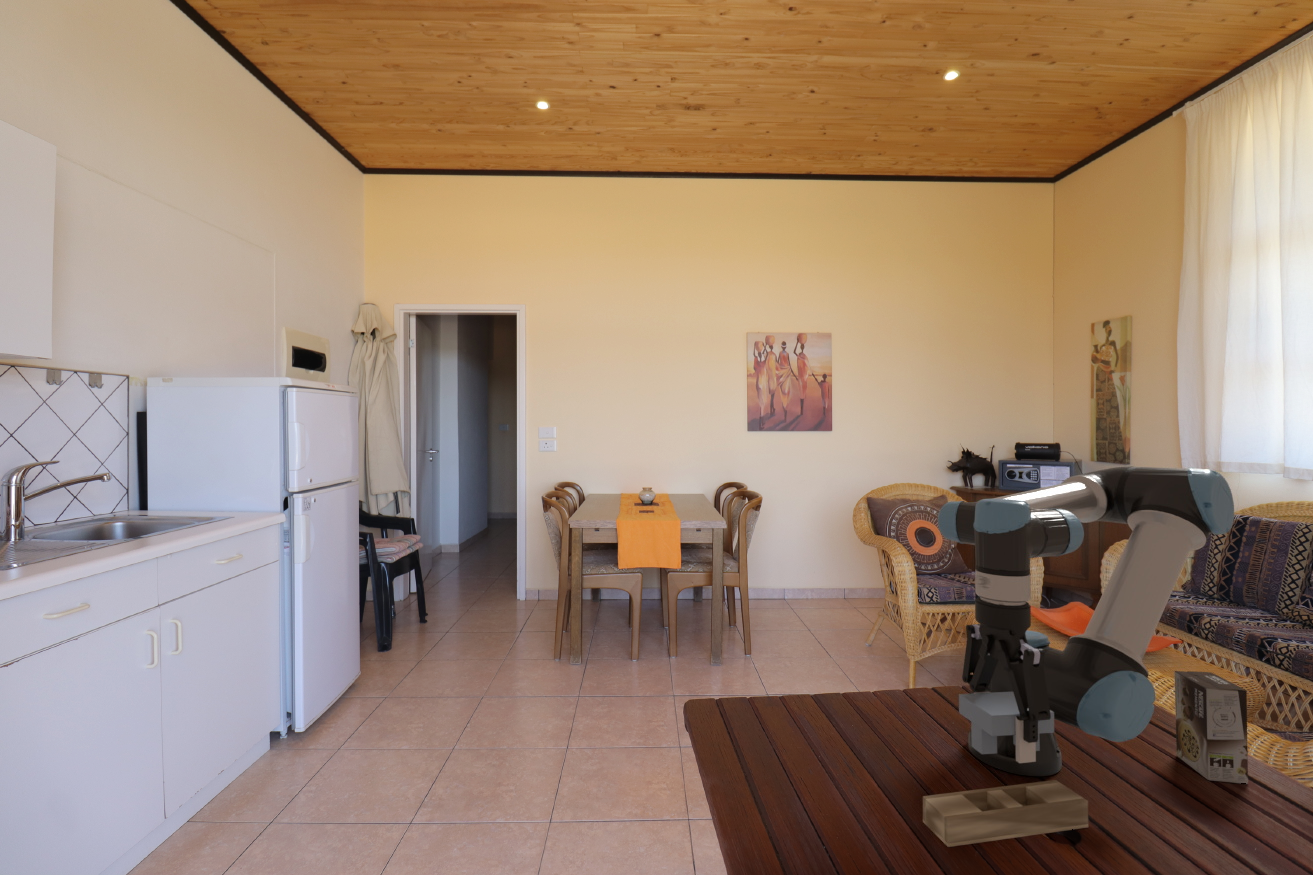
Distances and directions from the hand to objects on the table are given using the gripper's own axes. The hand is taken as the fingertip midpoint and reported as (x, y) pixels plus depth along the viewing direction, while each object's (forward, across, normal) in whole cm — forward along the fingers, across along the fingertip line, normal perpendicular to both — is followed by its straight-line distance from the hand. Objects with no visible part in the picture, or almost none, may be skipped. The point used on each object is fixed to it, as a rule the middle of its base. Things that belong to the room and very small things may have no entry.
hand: (1003, 746), depth 95 cm
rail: (+12, 0, 0) cm, 12 cm away
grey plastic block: (0, 0, 0) cm, 0 cm away
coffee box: (+12, -7, +48) cm, 50 cm away
